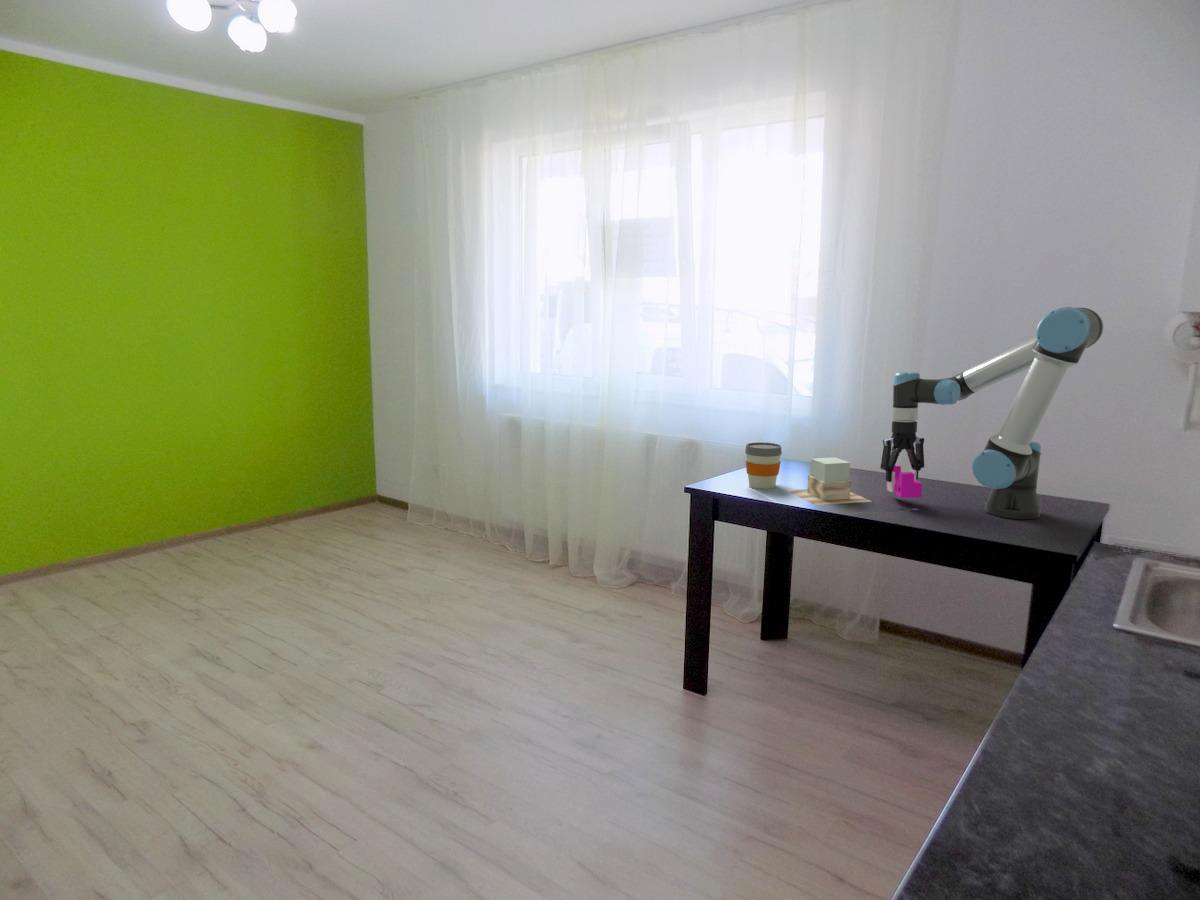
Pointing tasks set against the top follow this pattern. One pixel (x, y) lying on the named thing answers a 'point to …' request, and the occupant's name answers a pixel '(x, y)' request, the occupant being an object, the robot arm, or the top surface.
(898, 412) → the robot arm
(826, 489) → the tower base
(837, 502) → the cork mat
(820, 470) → the tower top
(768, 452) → the reusable coffee cup
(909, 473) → the toy block
